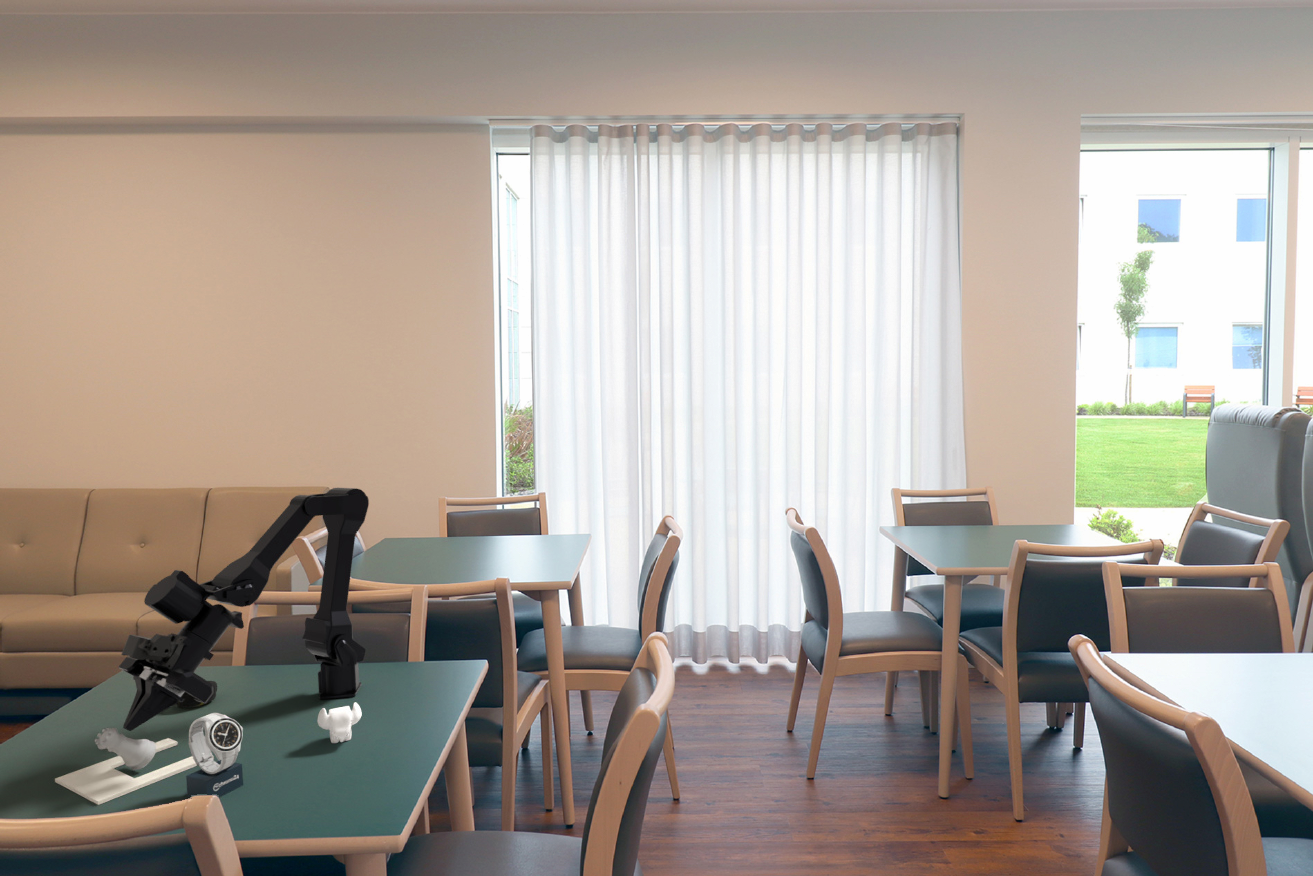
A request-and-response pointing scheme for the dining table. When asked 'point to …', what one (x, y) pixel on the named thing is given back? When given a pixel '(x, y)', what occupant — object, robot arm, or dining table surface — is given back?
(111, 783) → the cream u-shaped flat bracket
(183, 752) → the dining table surface
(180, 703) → the tape measure
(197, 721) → the watch
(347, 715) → the elephant figurine
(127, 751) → the rook chess piece
